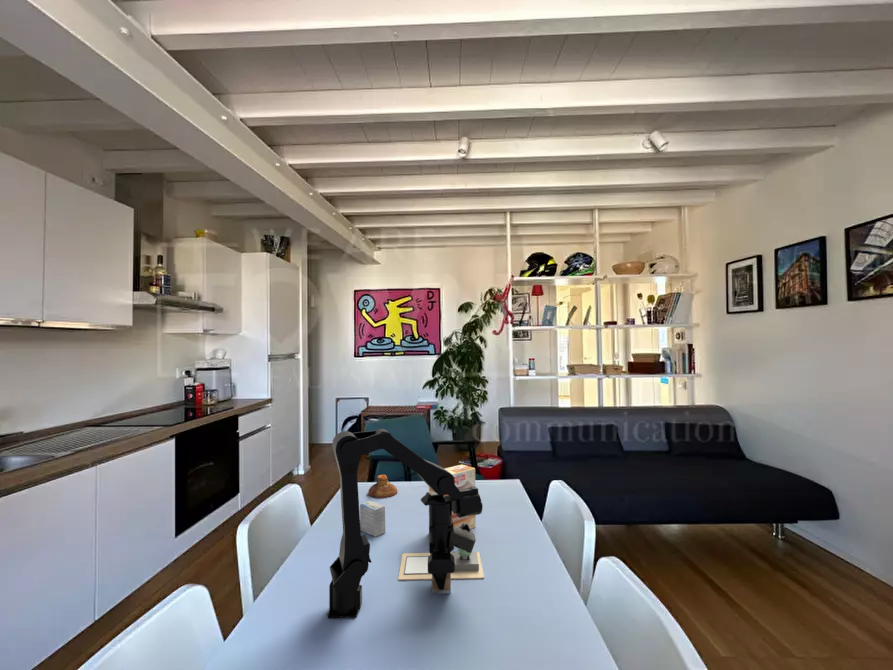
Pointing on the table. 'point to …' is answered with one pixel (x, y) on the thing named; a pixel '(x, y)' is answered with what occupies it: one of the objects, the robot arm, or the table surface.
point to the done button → (463, 553)
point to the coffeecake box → (463, 479)
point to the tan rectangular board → (417, 568)
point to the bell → (382, 488)
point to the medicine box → (372, 518)
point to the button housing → (466, 562)
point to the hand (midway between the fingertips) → (441, 583)
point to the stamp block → (446, 587)
